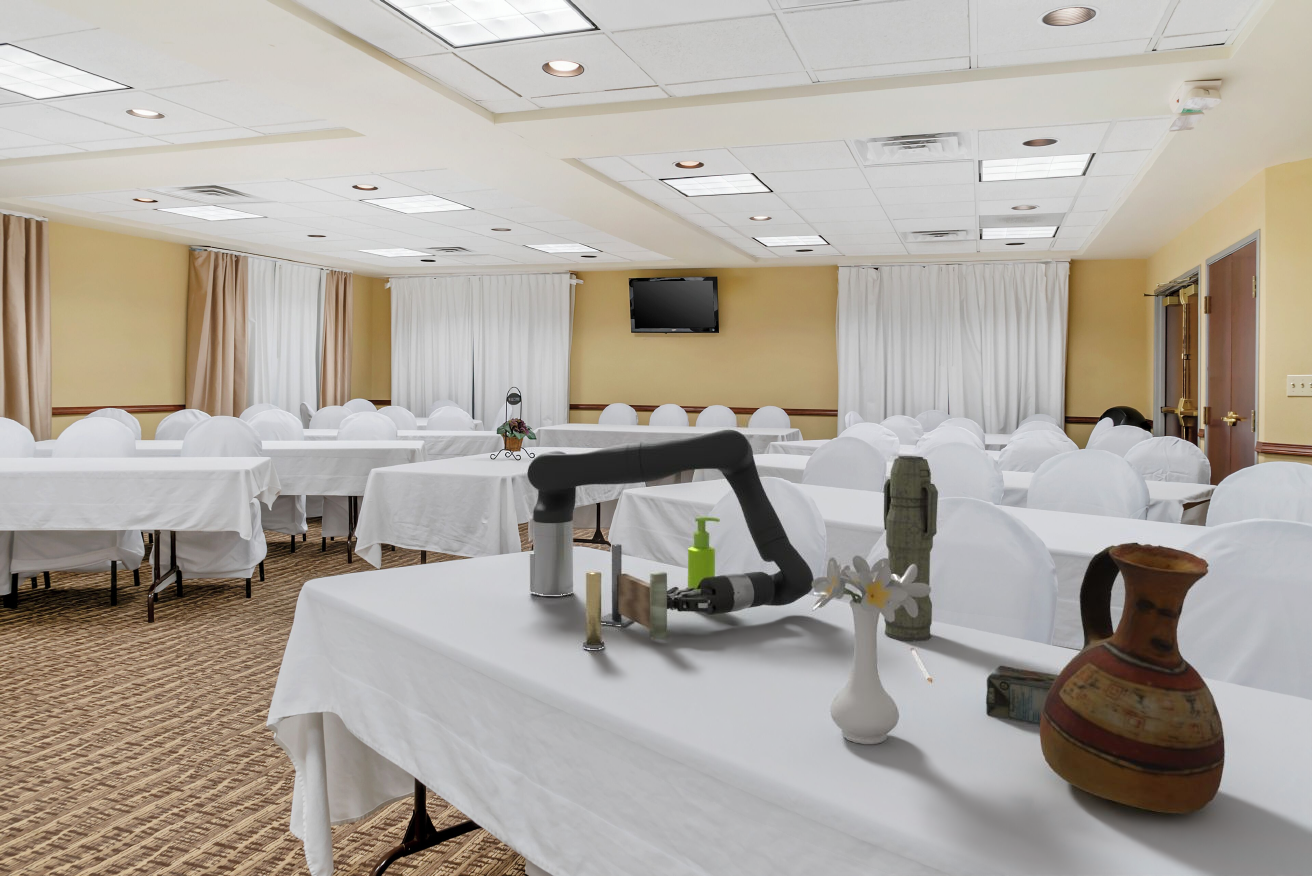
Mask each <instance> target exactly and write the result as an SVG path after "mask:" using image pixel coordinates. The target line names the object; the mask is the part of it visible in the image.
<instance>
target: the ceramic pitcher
mask: <svg viewBox="0 0 1312 876" xmlns="http://www.w3.org/2000/svg"><path fill="white" fill-rule="evenodd" d="M1208 567H1209V563H1208V562H1207V561H1206V559H1204V558H1202V557H1199V556H1197V555H1195V554H1193V553H1191V552H1187V551H1183V550H1181V549H1177V548H1172V547H1166V546H1163V545H1161V544H1159V545H1152V544H1150V543H1147V544H1146V543H1145V544H1140V543H1138V542H1128V543H1127V542H1126V543H1120V544H1117V545H1110V546H1107V547H1105V548H1104V549H1102V551H1100V552H1098V553H1097V554H1094V556H1093V557H1092V558H1091V560H1090V561H1089V563H1088V565H1087V568H1086V570H1085V572H1084V573H1085V574H1084V575H1083V580H1082V582H1081V585H1080V591H1079V607H1080V618H1081V625H1082V630H1083V638H1084V639H1083V641H1084V642H1083V647H1082V649H1081V650H1080V652H1078V653H1077V654H1076V655H1075V656H1074V657H1072V659H1071V660H1070V661H1069V662H1068V663H1067V664H1066V665H1065V666H1064V668H1063V669H1062V670H1061V672H1060V673H1059V674H1058V675H1059V676H1058V677H1057V678H1056V680H1055V681H1054V683H1053V685H1052V687H1051V689H1050V691H1049V693H1048V695H1047V697H1046V700H1045V702H1044V706H1043V709H1042V714H1041V722H1040V725H1039V739H1040V742H1039V743H1040V746H1041V751H1042V755H1043V757H1044V761H1045V762H1046V763H1047V765H1048V766H1049V768H1051V769H1052V770H1053V772H1054V773H1055V774H1056V775H1058V776H1059V777H1060V778H1061V779H1062V780H1064V781H1065V782H1067V783H1068V784H1070V785H1072V786H1074V787H1077V788H1078V789H1080V790H1082V791H1084V792H1087V793H1090V794H1092V795H1095V796H1097V797H1100V798H1102V799H1106V800H1110V801H1114V802H1117V803H1120V804H1124V805H1127V806H1128V807H1129V806H1130V807H1133V808H1137V809H1138V808H1139V809H1143V810H1148V811H1154V812H1157V813H1167V814H1188V813H1193V812H1196V811H1199V810H1202V809H1203V808H1204V807H1206V806H1207V805H1208V804H1209V803H1211V801H1212V800H1213V799H1214V798H1215V797H1216V795H1217V793H1218V791H1219V789H1220V786H1221V783H1222V780H1223V779H1222V778H1223V772H1224V768H1225V757H1226V755H1225V753H1226V752H1225V751H1226V749H1225V736H1224V729H1223V722H1222V719H1221V716H1220V713H1219V710H1218V707H1217V706H1218V705H1217V704H1216V700H1215V697H1214V695H1213V693H1212V692H1211V690H1210V688H1209V686H1208V685H1207V683H1206V682H1205V680H1204V679H1203V677H1202V676H1201V675H1200V673H1199V672H1198V670H1196V669H1195V668H1194V667H1193V665H1192V664H1191V663H1189V662H1188V661H1187V660H1185V658H1184V657H1183V656H1182V654H1181V652H1180V649H1179V642H1178V626H1179V621H1180V618H1181V614H1182V612H1183V607H1184V602H1185V599H1186V597H1187V595H1188V593H1189V590H1190V589H1191V588H1192V587H1193V586H1194V585H1195V584H1196V583H1197V582H1198V581H1200V580H1201V579H1202V578H1204V577H1206V575H1207V574H1208V573H1209V569H1208ZM1119 573H1120V574H1121V576H1122V578H1123V579H1122V580H1123V583H1124V603H1123V609H1122V613H1121V618H1120V619H1119V622H1118V624H1117V627H1116V630H1115V632H1114V629H1113V628H1114V627H1113V622H1112V621H1113V620H1112V614H1111V613H1112V612H1111V605H1112V603H1111V601H1112V591H1113V586H1114V583H1115V582H1116V579H1117V577H1118V574H1119Z"/></svg>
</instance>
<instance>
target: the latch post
mask: <svg viewBox="0 0 1312 876" xmlns="http://www.w3.org/2000/svg"><path fill="white" fill-rule="evenodd" d="M601 618H602V572H601V571H587V572H586V573H585V637H586V638H585V641H584V642H583V643H582V648H583V647H585V648H590V649H599V648H602V647H604V648H605V642H604V641H602V625H601Z"/></svg>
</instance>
